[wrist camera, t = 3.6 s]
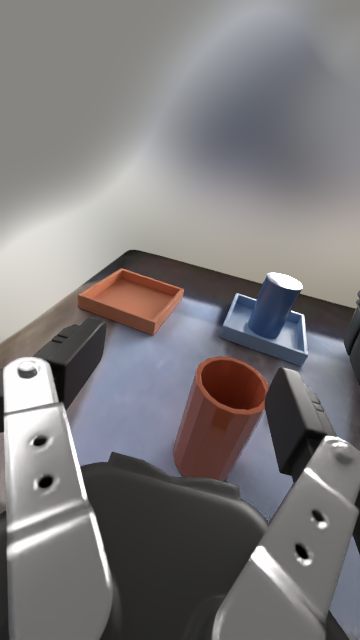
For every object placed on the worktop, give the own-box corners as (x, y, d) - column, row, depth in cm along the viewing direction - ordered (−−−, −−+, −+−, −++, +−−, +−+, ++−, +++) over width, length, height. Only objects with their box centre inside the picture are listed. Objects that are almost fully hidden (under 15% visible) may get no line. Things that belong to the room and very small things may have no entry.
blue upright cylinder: (245, 331, 49) (264, 281, 44) (249, 315, 54) (267, 269, 49) (279, 342, 48) (303, 293, 43) (280, 325, 53) (302, 279, 48)
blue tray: (218, 337, 47) (222, 325, 46) (232, 303, 59) (236, 292, 57) (301, 366, 44) (308, 355, 43) (299, 324, 56) (304, 314, 55)
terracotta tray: (78, 307, 47) (77, 294, 45) (120, 278, 58) (121, 268, 57) (153, 335, 44) (155, 322, 43) (181, 299, 56) (184, 289, 54)
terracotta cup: (163, 469, 26) (185, 394, 21) (184, 420, 32) (206, 347, 26) (225, 499, 25) (268, 427, 19) (236, 442, 30) (272, 372, 25)
